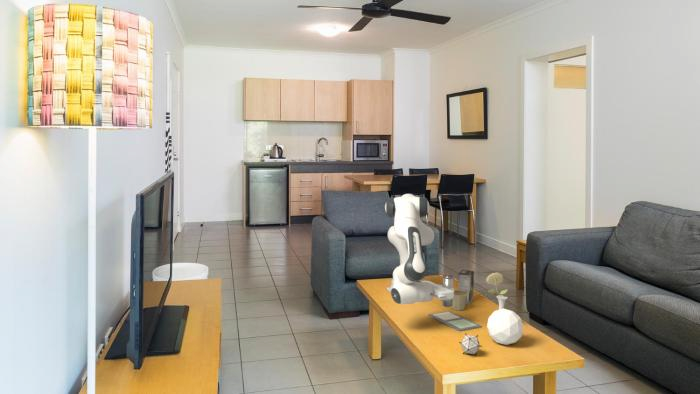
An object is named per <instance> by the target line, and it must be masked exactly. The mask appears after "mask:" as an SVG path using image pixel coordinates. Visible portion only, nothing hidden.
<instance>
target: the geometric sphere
mask: <svg viewBox="0 0 700 394" xmlns="http://www.w3.org/2000/svg"><path fill="white" fill-rule="evenodd" d="M486 325H487V326H486V327H487V331H488V333H489V335H488V336H489V337H490V338H491V339H492V340H494V341H495V342H496V343H498V344H501V345H504V346H509V345H511V344H516V343H517V341H519V340H520V339H521V337H523V330H524V325H523V321H522V318H521V317H520V316H519V315H518V314H517V313H516V312H515V311H513V310H510V309H507V308H504V309H501V310H499V309H496V310H495V311H493V312H492V313H491V315H489V317H488V320H487V324H486Z"/></svg>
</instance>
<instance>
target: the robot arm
mask: <svg viewBox="0 0 700 394" xmlns="http://www.w3.org/2000/svg"><path fill="white" fill-rule="evenodd" d="M384 209H385V213H386V215H387V217H389V218H391V219H393V225H391V226H390V227H389V228H388V231H387V239H388V241H389V242H390V243H391V244H392V245H393V246H394V247H395V248H396V250H397V253H398V254H399V265H398V266H396V267H395V268H393V269H394V270H393V272H392V279H391V281H390V282H391V284H390V286H388V287H386V290H387V292H388V291H389V293H390V296H391V298H392V301H394V302H395V303H396V304H398V305H412V304H415V303H423V302H424V303H425V302H431V301H432V299H433V298H434V299H436V300H440V301H442V300H450V299H453V298H454V291H455V290H456V289H455V288H454V287H453V288H450V289H447V288H445V287H443V284H437V283H435V282H433V281H430V280H423V279H424V278H425V277H426V276H427V265H426V263H425V260H424V255H423V247H424V246H430V245H431V244H432V243H433V242H434V240H435V233H434V230H433V229H432V228H431V227H430V226H427V225H426V224H425V223H423V221H422V219H421V218H425V217H427V215H428V213H429V212H430V203H429V201H428V198H427V197H425V196H417V195H416V196H415V195H414V194H413V193H405V194H403V195H402V196H396V197H394V196H393V197H388V198H387V200H386V202H385V204H384Z"/></svg>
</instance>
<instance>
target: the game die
mask: <svg viewBox="0 0 700 394" xmlns="http://www.w3.org/2000/svg"><path fill="white" fill-rule="evenodd" d="M464 335H465V336H464V337H463V339H462V340H461V341H459V344H460V345H461V348H462V351H463V353H462V354H463V355H464V354H470V355H474V356H475V357H476V356H477V352H478V351H479V349H480V348H482V347H483V345H481V344H480V341H479V339H478V337H479V334H477V335H471V334H467V333H466V332H465V333H464Z"/></svg>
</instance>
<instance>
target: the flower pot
mask: <svg viewBox="0 0 700 394" xmlns="http://www.w3.org/2000/svg"><path fill="white" fill-rule="evenodd" d="M467 295H468V292H466V291H462V290H458V289H455V291H454V298H453V302H452V307H451V308H452V310H454V311H458V312H460V311H465V309H466V308H465V307H466V305H467V304H466V298H467Z"/></svg>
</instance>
